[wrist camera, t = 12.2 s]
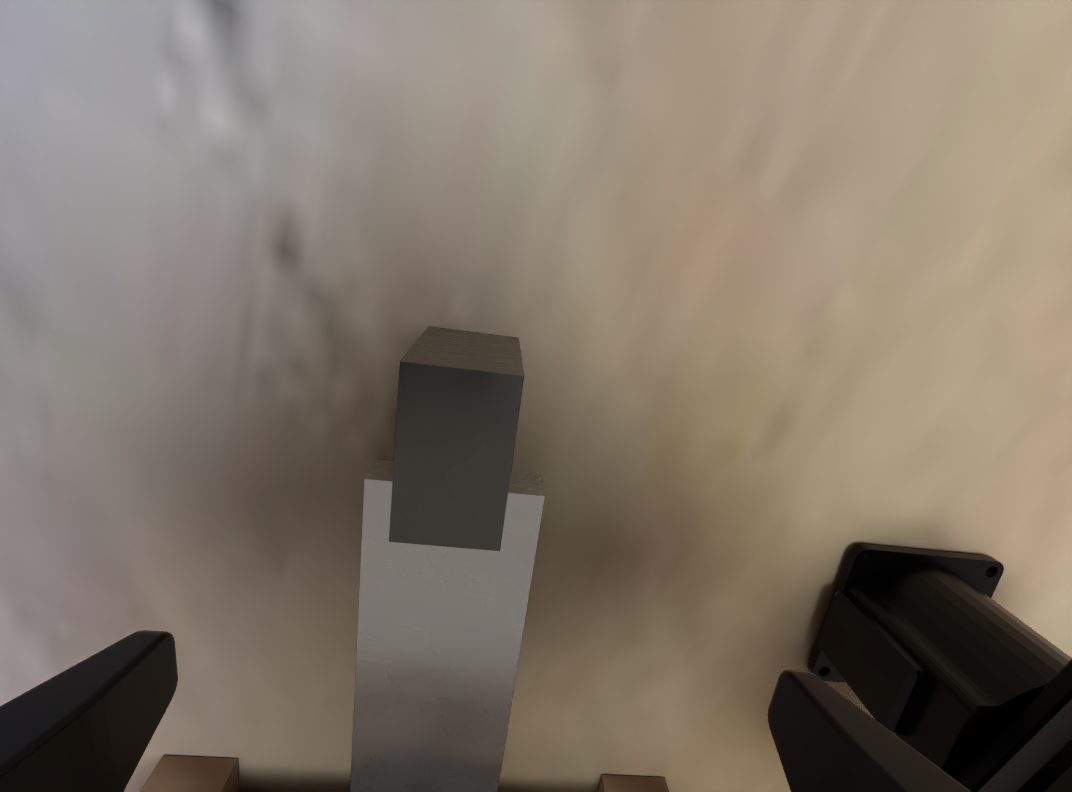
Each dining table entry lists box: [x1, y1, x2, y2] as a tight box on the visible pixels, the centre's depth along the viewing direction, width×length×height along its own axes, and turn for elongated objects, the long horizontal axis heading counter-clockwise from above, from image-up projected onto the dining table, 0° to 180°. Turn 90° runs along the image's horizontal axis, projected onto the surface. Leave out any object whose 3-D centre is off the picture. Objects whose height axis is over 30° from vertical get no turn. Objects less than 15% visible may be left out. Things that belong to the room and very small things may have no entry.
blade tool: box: [350, 326, 545, 792], centre depth 18 cm, size 6×23×5 cm, turn 172°
